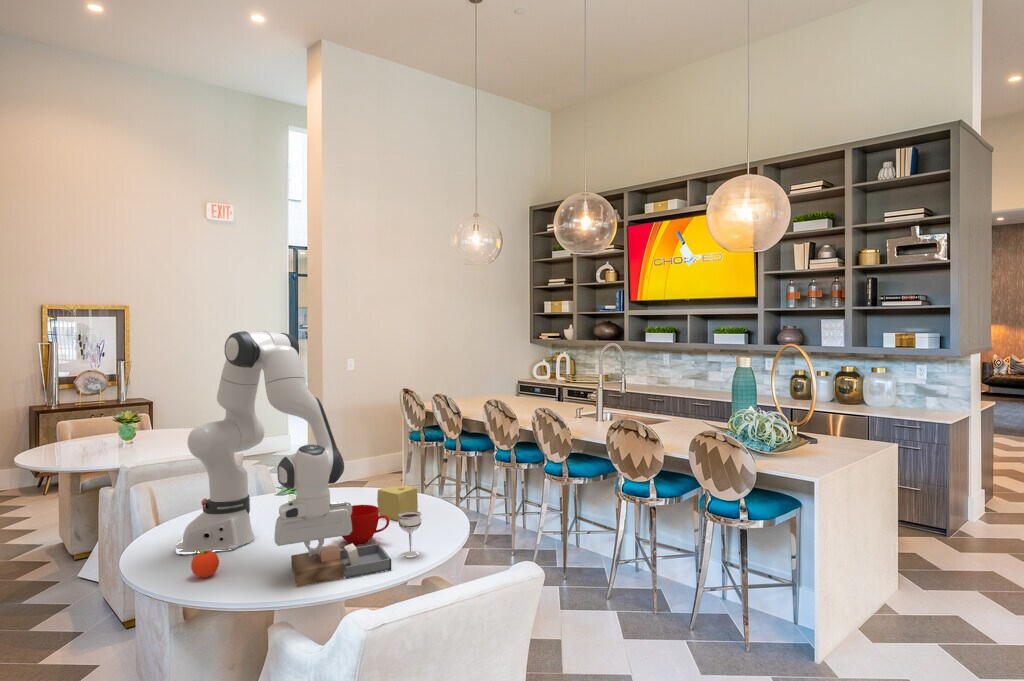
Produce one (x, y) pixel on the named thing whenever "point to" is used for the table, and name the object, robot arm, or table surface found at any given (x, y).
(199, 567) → the clementine
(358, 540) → the ceramic cup
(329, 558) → the tile
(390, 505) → the cheese
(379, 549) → the tray
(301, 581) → the walnut block
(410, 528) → the wineglass
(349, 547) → the tile
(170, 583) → the table surface
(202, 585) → the table surface
